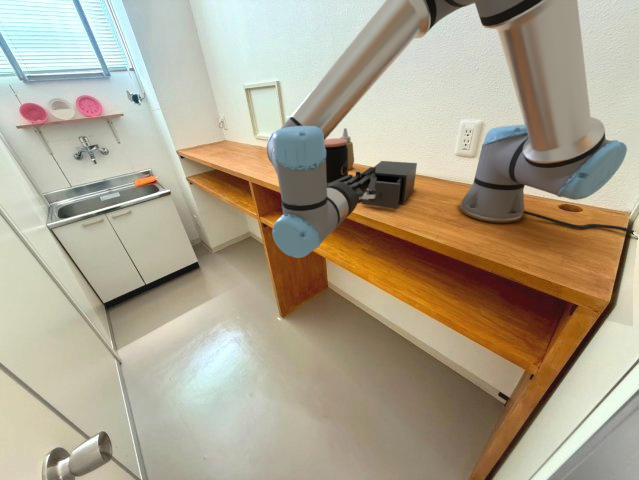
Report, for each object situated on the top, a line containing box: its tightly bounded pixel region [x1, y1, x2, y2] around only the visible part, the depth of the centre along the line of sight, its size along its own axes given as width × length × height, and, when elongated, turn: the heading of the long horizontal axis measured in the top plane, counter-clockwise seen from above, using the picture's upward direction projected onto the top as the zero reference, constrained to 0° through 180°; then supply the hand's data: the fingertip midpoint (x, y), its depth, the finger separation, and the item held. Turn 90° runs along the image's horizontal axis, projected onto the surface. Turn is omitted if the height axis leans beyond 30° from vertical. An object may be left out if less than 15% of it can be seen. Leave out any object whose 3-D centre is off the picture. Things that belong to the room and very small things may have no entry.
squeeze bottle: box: [340, 127, 355, 171], centre depth 116 cm, size 8×8×18 cm
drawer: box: [361, 175, 404, 210], centre depth 82 cm, size 15×11×8 cm
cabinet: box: [374, 160, 418, 205], centre depth 87 cm, size 15×13×10 cm
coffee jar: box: [324, 137, 349, 183], centre depth 92 cm, size 11×11×18 cm
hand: (372, 172), depth 68 cm, fingers closed
